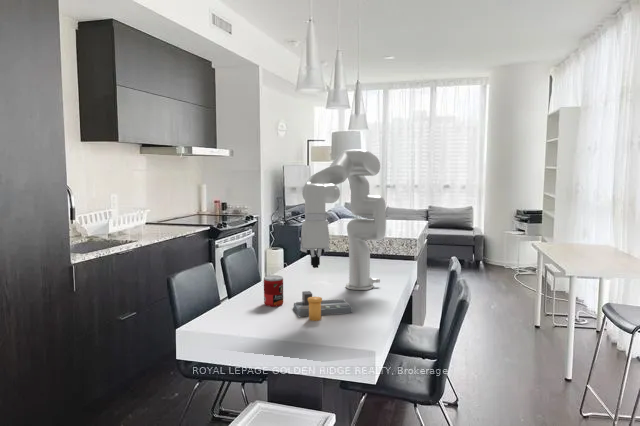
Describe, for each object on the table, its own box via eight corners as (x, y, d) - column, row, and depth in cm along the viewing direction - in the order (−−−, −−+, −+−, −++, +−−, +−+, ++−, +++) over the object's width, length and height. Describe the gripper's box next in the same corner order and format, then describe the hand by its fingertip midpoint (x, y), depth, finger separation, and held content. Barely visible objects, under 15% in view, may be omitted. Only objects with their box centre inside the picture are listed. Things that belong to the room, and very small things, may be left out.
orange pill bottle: (320, 316, 171) (320, 296, 170) (323, 320, 166) (323, 299, 165) (306, 317, 170) (306, 297, 169) (309, 321, 164) (309, 300, 164)
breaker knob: (310, 303, 179) (309, 291, 179) (312, 306, 175) (312, 293, 175) (302, 304, 179) (302, 291, 178) (304, 307, 174) (304, 294, 174)
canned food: (275, 307, 182) (275, 280, 181) (260, 305, 186) (259, 278, 185) (287, 303, 188) (287, 276, 187) (271, 300, 193) (271, 274, 192)
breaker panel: (342, 304, 186) (342, 296, 186) (351, 312, 175) (351, 304, 175) (293, 307, 182) (293, 300, 182) (299, 316, 170) (299, 308, 170)
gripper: (332, 216, 175) (332, 264, 177) (293, 217, 172) (293, 266, 174) (337, 218, 168) (337, 268, 169) (296, 219, 165) (297, 270, 166)
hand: (315, 267), depth 172 cm, fingers closed
